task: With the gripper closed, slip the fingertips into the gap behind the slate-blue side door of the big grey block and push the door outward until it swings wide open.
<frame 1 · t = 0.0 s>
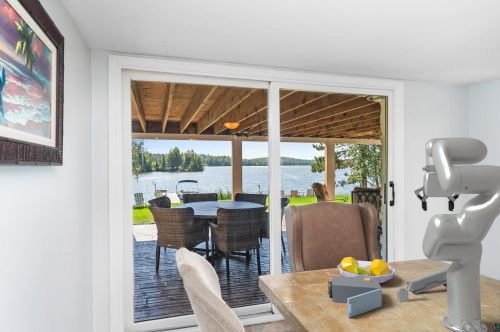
hand: (437, 210, 131), 37 cm above the table, tool pointing down, fingers open, 9 cm apart
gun: (433, 292, 139), on the table
side door: (366, 302, 119), point 4 cm above the table, hinge at 45.0°
lighter: (406, 301, 130), on the table
grey block: (355, 298, 133), on the table
fruit bowl: (364, 280, 156), on the table
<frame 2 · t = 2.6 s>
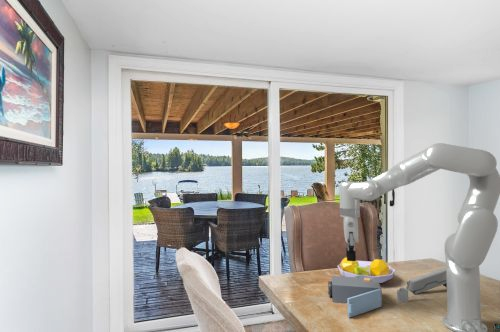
hand: (351, 258, 124), 19 cm above the table, tool pointing down, fingers open, 4 cm apart
nothing on the table moved.
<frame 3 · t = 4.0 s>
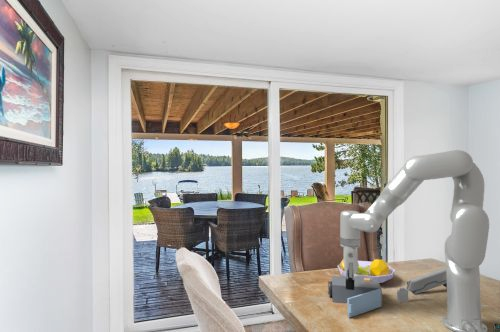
hand: (349, 288, 124), 7 cm above the table, tool pointing down, fingers closed
nothing on the table moved.
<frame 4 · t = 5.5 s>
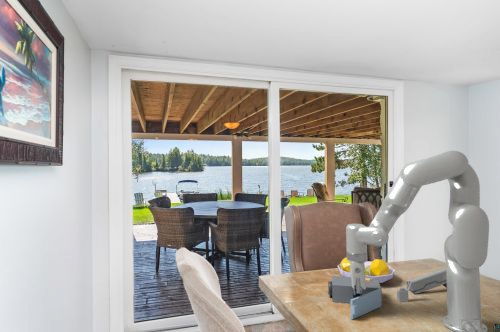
hand: (357, 304, 120), 3 cm above the table, tool pointing down, fingers closed
side door: (367, 303, 119), point 4 cm above the table, hinge at 49.7°, touching gripper
everything else where it was.
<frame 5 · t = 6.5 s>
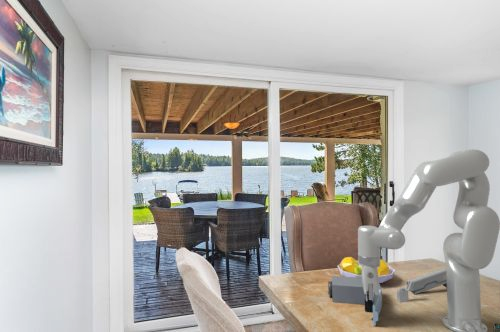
hand: (369, 311, 114), 3 cm above the table, tool pointing down, fingers closed
side door: (378, 305, 116), point 4 cm above the table, hinge at 75.5°, touching gripper
everything else where it was.
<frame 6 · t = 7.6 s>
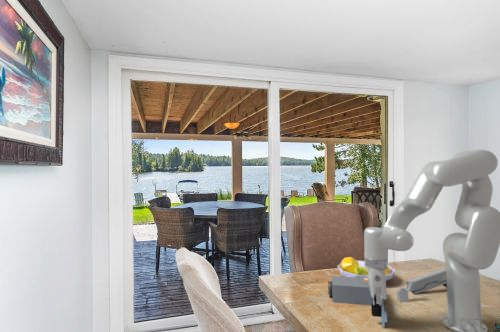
hand: (376, 315, 110), 3 cm above the table, tool pointing down, fingers closed
side door: (382, 306, 116), point 4 cm above the table, hinge at 84.5°, touching gripper
everything else where it was.
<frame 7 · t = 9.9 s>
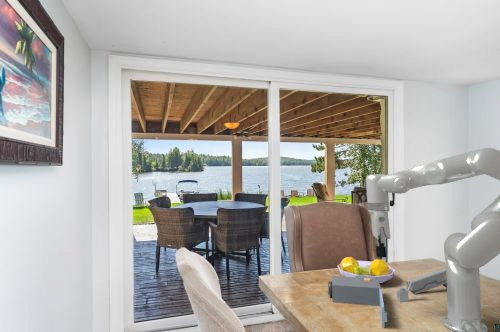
hand: (381, 256, 117), 22 cm above the table, tool pointing down, fingers closed
side door: (382, 306, 116), point 4 cm above the table, hinge at 84.5°
everything else where it was.
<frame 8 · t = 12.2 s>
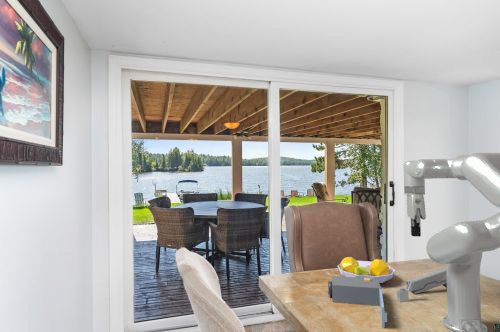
hand: (415, 235, 128), 27 cm above the table, tool pointing down, fingers closed
nothing on the table moved.
at the end: side door at +84° (first picture: +45°) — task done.
